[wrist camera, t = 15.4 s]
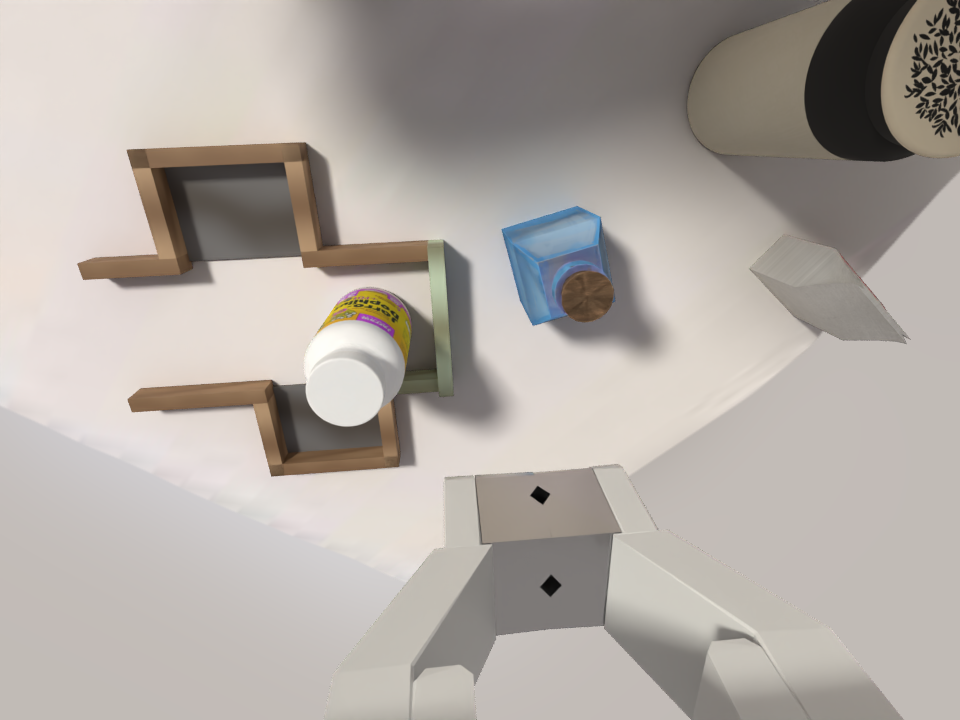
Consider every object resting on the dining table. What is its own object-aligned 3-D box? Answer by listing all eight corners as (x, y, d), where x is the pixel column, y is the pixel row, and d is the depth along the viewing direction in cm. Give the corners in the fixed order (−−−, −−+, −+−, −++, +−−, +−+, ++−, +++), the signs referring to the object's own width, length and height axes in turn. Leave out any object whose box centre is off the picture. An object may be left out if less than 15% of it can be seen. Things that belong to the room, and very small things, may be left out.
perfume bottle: (520, 301, 42) (548, 357, 31) (501, 229, 39) (525, 262, 28) (591, 279, 42) (645, 329, 31) (577, 206, 39) (630, 231, 28)
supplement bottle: (417, 291, 41) (408, 351, 29) (407, 364, 43) (395, 446, 32) (334, 278, 40) (290, 335, 28) (328, 353, 42) (286, 434, 31)
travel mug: (724, 177, 39) (932, 203, 23) (663, 98, 36) (847, 61, 20) (810, 94, 37) (1107, 57, 21) (752, 4, 34) (1039, -121, 18)
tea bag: (793, 316, 44) (885, 361, 35) (748, 268, 42) (833, 303, 33) (827, 284, 43) (931, 323, 34) (783, 234, 41) (881, 260, 32)
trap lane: (57, 152, 35) (25, 153, 32) (436, 137, 36) (436, 136, 34) (170, 471, 46) (153, 492, 43) (457, 449, 47) (458, 469, 45)
